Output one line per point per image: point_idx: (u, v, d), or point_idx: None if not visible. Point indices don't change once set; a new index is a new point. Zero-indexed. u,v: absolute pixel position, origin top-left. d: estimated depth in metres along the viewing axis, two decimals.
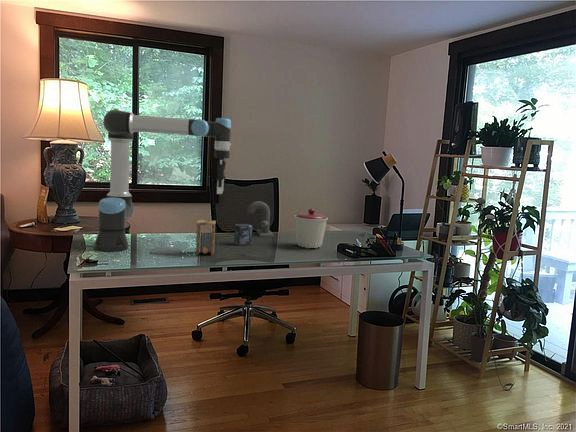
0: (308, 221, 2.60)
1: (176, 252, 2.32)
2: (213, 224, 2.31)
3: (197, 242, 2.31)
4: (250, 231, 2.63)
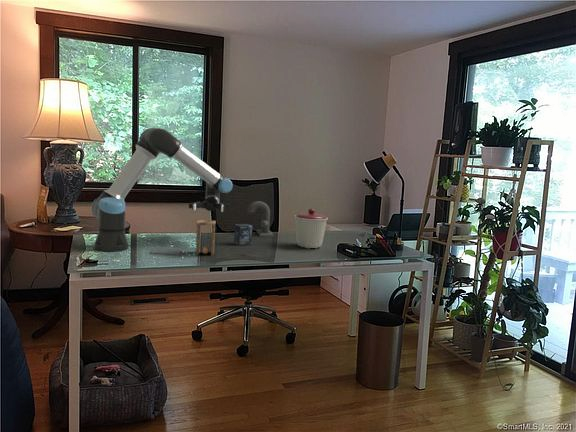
0: (308, 221, 2.60)
1: (176, 252, 2.32)
2: (213, 224, 2.31)
3: (197, 242, 2.31)
4: (250, 231, 2.63)
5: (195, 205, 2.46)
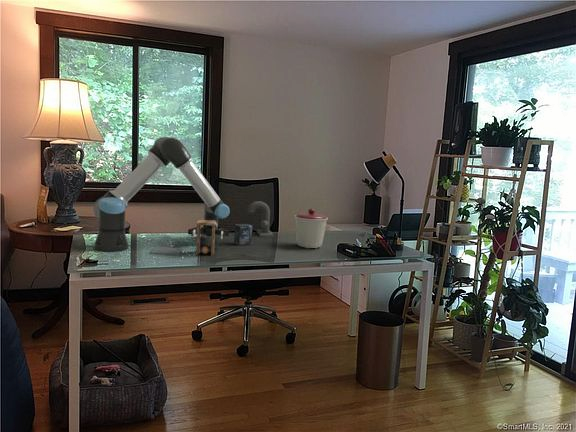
0: (308, 221, 2.60)
1: (176, 252, 2.32)
2: (213, 224, 2.31)
3: (197, 242, 2.31)
4: (250, 231, 2.63)
5: None
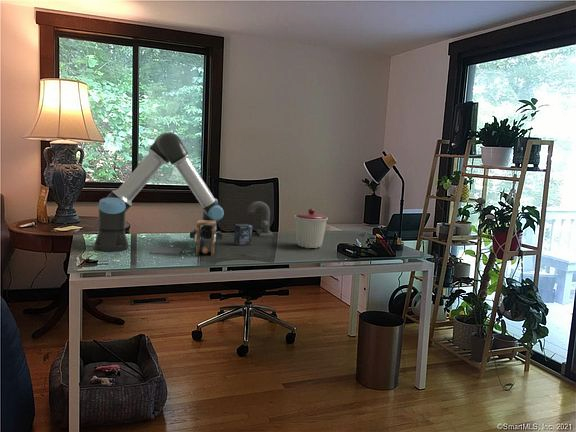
0: (308, 221, 2.60)
1: (176, 252, 2.32)
2: (213, 224, 2.31)
3: (197, 242, 2.31)
4: (250, 231, 2.63)
5: None
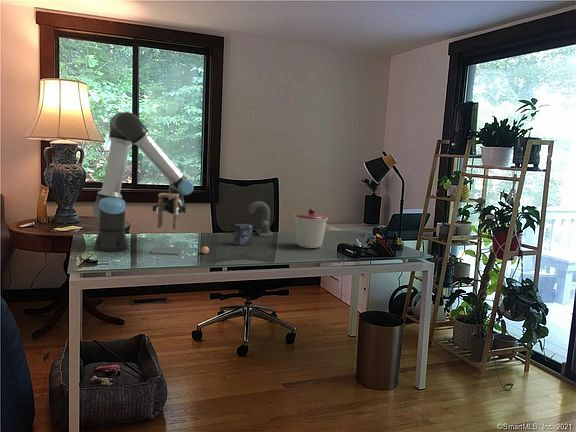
0: (308, 221, 2.60)
1: (176, 252, 2.32)
2: (175, 196, 2.28)
3: (159, 214, 2.29)
4: (250, 231, 2.63)
5: None
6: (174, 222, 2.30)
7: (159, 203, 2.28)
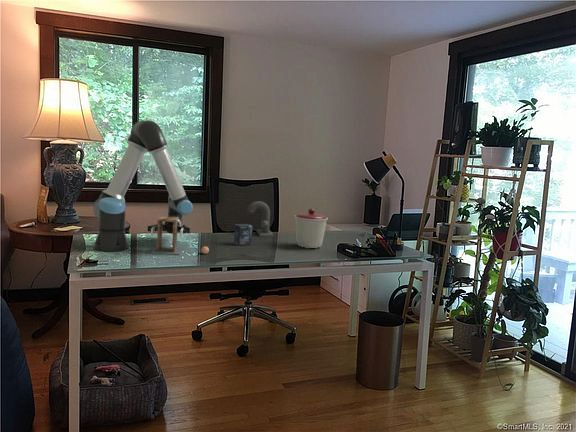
0: (308, 221, 2.60)
1: (176, 252, 2.32)
2: (174, 220, 2.30)
3: (158, 238, 2.31)
4: (250, 231, 2.63)
5: (154, 228, 2.34)
6: (173, 246, 2.32)
7: (158, 227, 2.30)
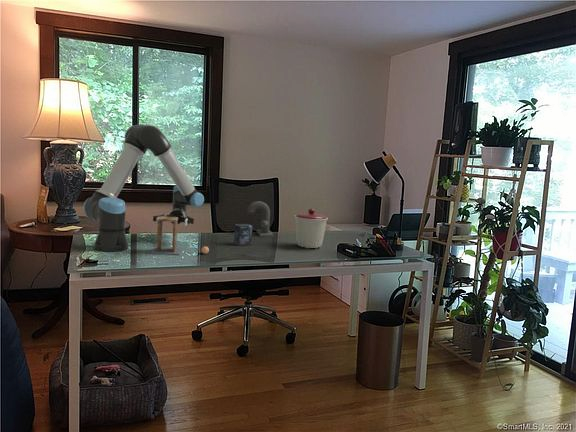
0: (308, 221, 2.60)
1: (176, 252, 2.32)
2: (174, 220, 2.30)
3: (158, 238, 2.31)
4: (250, 231, 2.63)
5: None
6: (173, 246, 2.32)
7: (158, 227, 2.30)
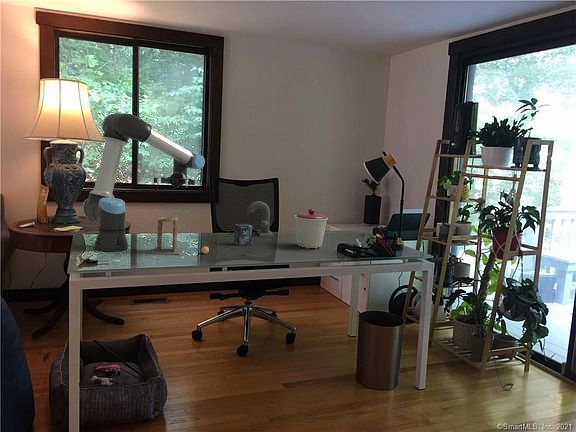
0: (308, 221, 2.60)
1: (176, 252, 2.32)
2: (174, 220, 2.30)
3: (158, 238, 2.31)
4: (250, 231, 2.63)
5: (159, 179, 2.45)
6: (173, 246, 2.32)
7: (158, 227, 2.30)
